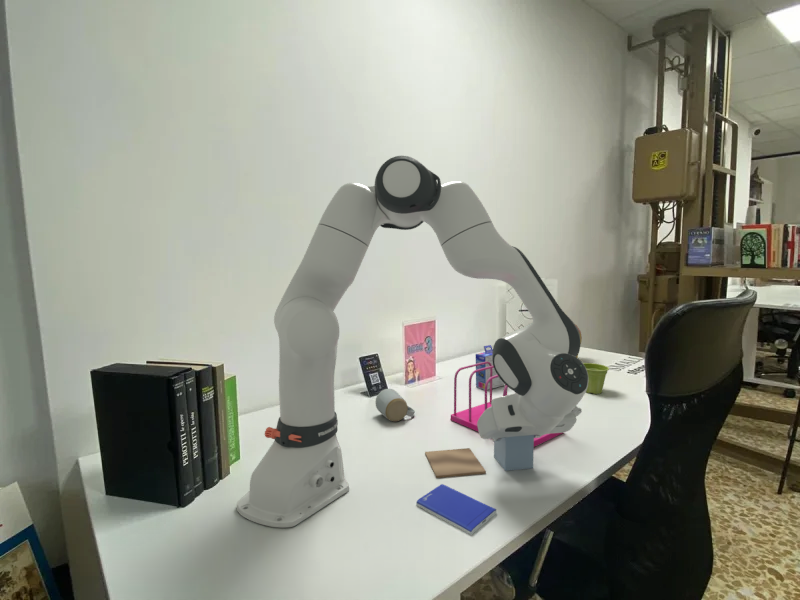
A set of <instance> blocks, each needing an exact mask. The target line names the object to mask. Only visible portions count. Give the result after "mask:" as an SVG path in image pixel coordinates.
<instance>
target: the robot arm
mask: <svg viewBox="0 0 800 600" xmlns="http://www.w3.org/2000/svg"><path fill="white" fill-rule="evenodd" d="M423 223H426V225H428V226H430V228H431V229H432V230H433V231H434V233H435V235H436V237H437V239H438V242H439V244H440V247H441V249H442V251H443V253H444V256H445V257H446V260H447V261H448V264H449V265H450V266H451V267H452V268H453V269H454V272H457V273H459V274H460V275H462V276H465V277H468V278H472V279H480V280H481V279H483V280H484V279H485V280H486V279H487V280H496V281H497V280H498V281H502V282H504V283H506V284H508V285H509V286H510V287H512V289H513V290H514V291H515V292H516V294H517V296H518V297H519V299H520V300H521V302H522V303H523V304H524V306H525V308H526V309H527V311H528V312H529V314H530V316H531V317H532V322H531V323H529V324H527V325H525V326H522V327H521V328H519V329H516V330H514V331H512V332H510V333H507V334H506V335H504V336H501V337H500V338H497V339H496V340H495V342H494V344H493V346H492V349H493V352H492V359H493V366H494V369H495V371H496V373H497V375H498V376H499V378H500V379H501V380H502V381H503V382H504V383H505V384H506V385H507V386H508V388H509V389H510V390H511V391H513V393H510V394H507V395H506V396H503V395H502V396H499V397H494V398H492V401H491V405H492V406H491V407H489V408H487V409H486V410H485V411H484V412H483V414H482V415H481V416H480V418H479V420H478V422H477V426H478V431H479V432H478V431H477V432H478V434H479V437H480V438H481V439H483V440H491V441H492V442H495V441H500V440H501V439H502V438H503V437H515V436H527V435H534V438H540V437H541V436H542V435H545V434H551V433H563V432H564V433H566V432H569V431H571V429H572V428H573V427H574V426H575V425H576V423H577V417H579V415H581V413H582V412H583V410H582V408H581V407H579V406H577V405H578V404H579V403H581V401H582V399H583V397H584V396H585V394H586V393H587V392H586V390H587V387H588V372H587V370H586V367H585V366H584V364H583V363H584V362H582V361H581V360H580V359H579V357H578V358H577V355H578V356H579V354H580V350H581V345H582V340H581V338H580V333H579V330H580V329H579V330H578V328H579V327H578V326H577V327H578V328H577V327H576V325H577V324H575V322H573V320H572V319H571V318H570V317H569V315H567V314H566V313H565V311H564V310H563V309H562V308H561V306H560V305H559V303H558V302H557V301H556V299H555V298H554V296H553V295H552V293H551V292H550V290H549V288H548V287H547V286H546V284H545V283H544V281H543V279H542V278H541V276H540V275H539V273H538V272H537V270H536V269H535V268H534V266H533V264H532V263H531V262H530V260H529V259H528V258H527V256H526V255H525V254H524V253H523V251H522V250H521V249H520V248H518V247H516V246H512V245H511V244H510V243H508V242H507V241H506V240H505V239H504V238H503V237H502V236H501V234H500V233H499V232H498V230H497V229H496V227H495V225H494V224H493V221H492V219H491V217H490V216H489V213H488V212H487V210H486V208H485V206H484V205H483V202H482V201H481V200H480V199H479V197H478V195H477V193H475V191H474V189H472V188H471V186H470V185H469V184H467V183H466V182H464V181H459V180H457V181H449V182H446V183H443V184H442V182H441V179H440V177H439V176H438V175H437V174H436V173H434V172H432V170H429V169H428V168H427V167H426V166H425V165H423V164H422V162H420V161H419V160H418V159H415V158H413V157H411V156H408V155H396V156H393V157H390V158H389V159H387V160H386V161H385V162H384V163H382V165H381V166H380V167H379V169H378V171H377V173H376V176H375V179H374V185H373V186H369V185H368V186H367V185H365V184H362V183H358V182H348V183H345V184H343V185H341V186H340V187H339V188H338V190H337V191H336V193H334V195H333V197H332V198H331V200H330V201H329V203H328V204H327V206H326V208H325V210H324V211H323V213H322V216H321V218H320V220H319V222H318V224H317V226H316V229H315V231H314V233H313V235H312V237H311V240H310V242H309V244H308V246H307V248H306V251H305V254H304V255H303V257H302V259H301V261H300V264H299V266H298V267H297V268H296V270H295V273H294V274H293V276H292V278H291V280H290V282H289V284H288V286H287V287H286V289H285V292H284V294H283V296H282V298H281V300H280V302H279V304H278V305H277V307H276V309H275V312H274V317H273V318H274V319H273V321H274V323H273V324H274V327H275V329H276V332H277V335H278V341H279V342H278V344H279V345H278V346H279V363H278V365H279V368H278V369H279V371H278V372H279V373H278V397H279V398H278V399H279V417H278V420H277V422H276V423H277V424H276V427H275V428H273V427H270V426H268V427H266V428H265V431H264V434H263V435H264V437H265V438H266V439H273V440H274V441H273V442H272V444H271V445H270V447H269V448H268V450H267V451H266V453H265V454H264V455H263V457H262V458H261V460H260V461H259V463H258V464H257V466H256V467H255V469H254V470H253V471H252V473H251V476H250V481H249V490H248V491H247V493H245V494H244V495H242V497H241V498H240V499H239V500H238V501H237V502H236V510H237V512H238V514H240V516H241V517H243V518H245V519H247V520H249V521H251V522H254V523H255V524H260V525H262V526H266V527H270V528H271V527H272V528H292V527H295V526H296V525H299V524H300V523H302V522H303V521H304V520H306V519H308V518H309V517H311V516H313V515H314V514H315V513H317V512H318V511H320V510H321V509H323V508H325V507H326V506H327V505H329V504H331V503H332V502H333V501H335V500H337V499H338V498H340V497H341V496H343V495H344V494H346V493H348V492H349V491H350V485H349V483H348V481H347V480H346V477H345V470H344V461H343V453H342V449H341V448H342V447H341V446H340V443H339V440H338V438H337V437H338V436H337V432H338V424H339V420H338V413H337V412H336V411H335V410H336V408H335V404H336V403H335V370H336V366H337V365H336V362H337V356H338V355H337V354H338V345H339V343H338V342H339V339H340V338H339V337H340V323H339V321H338V320H339V319H338V317H337V316H336V313H335V310H336V308H337V306H338V304H339V303H340V300H341V299H342V298H343V296H344V295H345V293H346V292H347V290H348V289H349V287H351V286H352V284H353V282H354V281H355V278H356V277H357V275H358V274H357V273H358V272H359V269H360V267H361V265H362V262H363V259H364V258H365V256H366V253H367V251H368V249H369V246H370V244H371V242H372V239H373V237H374V235H375V233H376V231H377V229H378V228H379V227H381V228H383V229H384V228H385V229H395V230H400V231H401V230H403V231H407V230H409V231H410V230H413V229H416V228H418V227H419V226H422V224H423ZM564 433H563V434H564Z"/></svg>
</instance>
